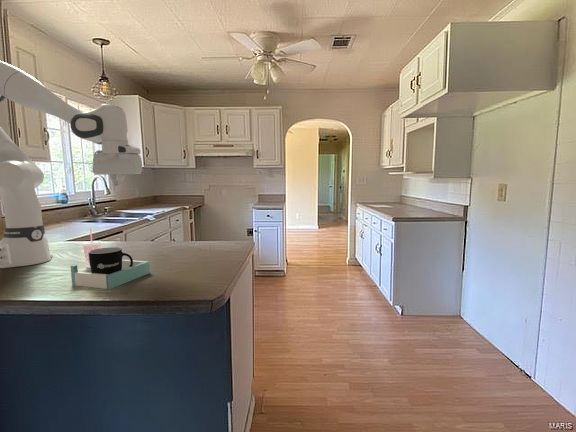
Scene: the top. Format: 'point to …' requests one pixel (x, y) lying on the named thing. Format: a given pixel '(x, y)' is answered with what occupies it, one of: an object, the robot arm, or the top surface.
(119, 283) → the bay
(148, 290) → the top surface
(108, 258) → the mug
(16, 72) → the robot arm
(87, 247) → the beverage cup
